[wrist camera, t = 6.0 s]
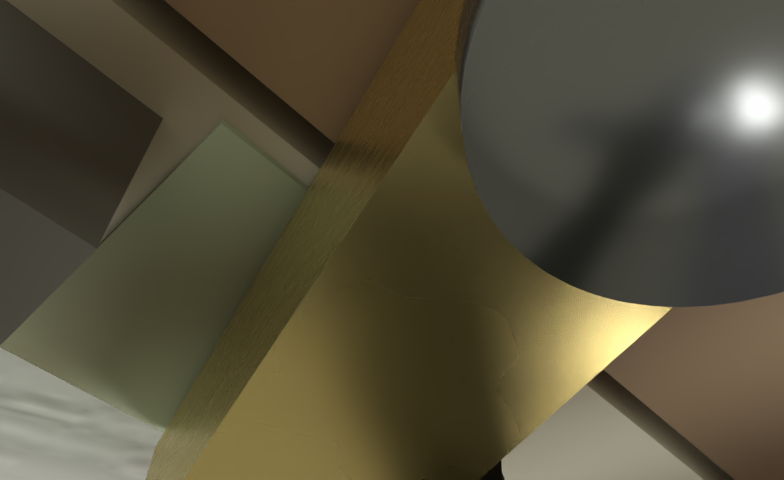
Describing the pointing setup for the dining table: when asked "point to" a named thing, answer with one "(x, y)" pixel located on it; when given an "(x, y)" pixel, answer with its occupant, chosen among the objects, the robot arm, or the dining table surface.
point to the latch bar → (498, 236)
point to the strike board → (281, 226)
